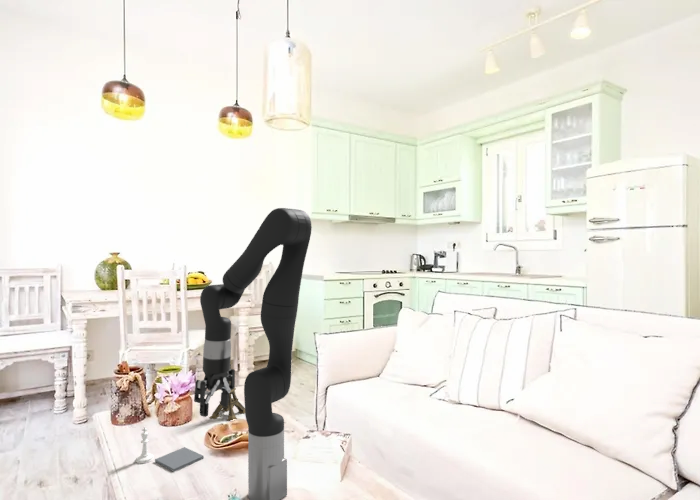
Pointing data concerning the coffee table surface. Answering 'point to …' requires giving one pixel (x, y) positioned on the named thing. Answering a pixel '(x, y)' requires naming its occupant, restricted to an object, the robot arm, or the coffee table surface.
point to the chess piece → (144, 449)
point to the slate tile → (179, 459)
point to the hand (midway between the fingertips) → (214, 410)
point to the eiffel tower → (229, 405)
